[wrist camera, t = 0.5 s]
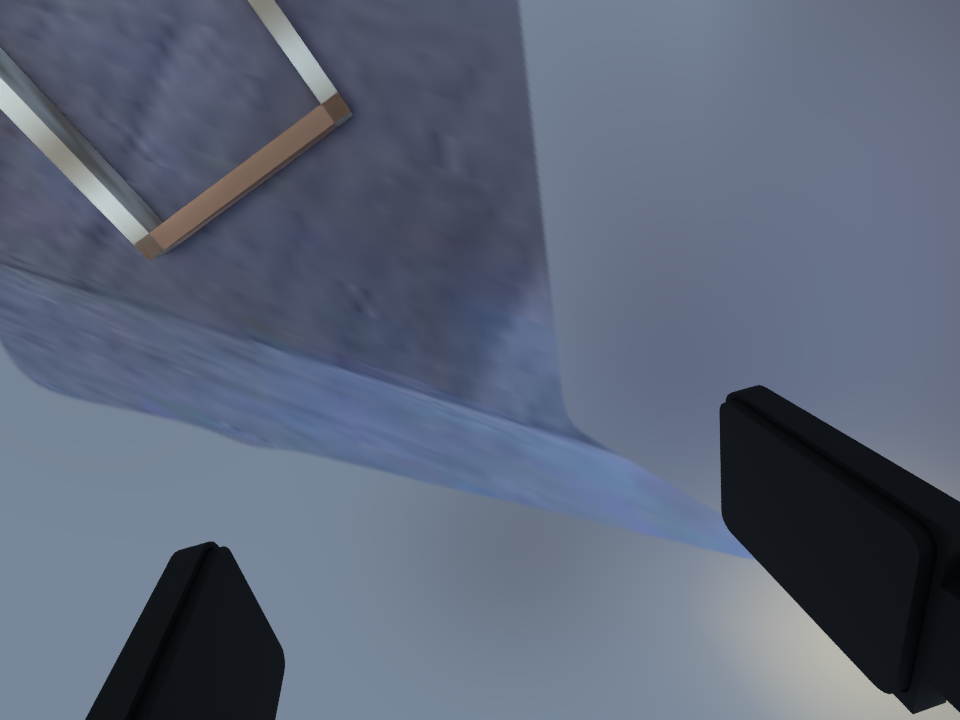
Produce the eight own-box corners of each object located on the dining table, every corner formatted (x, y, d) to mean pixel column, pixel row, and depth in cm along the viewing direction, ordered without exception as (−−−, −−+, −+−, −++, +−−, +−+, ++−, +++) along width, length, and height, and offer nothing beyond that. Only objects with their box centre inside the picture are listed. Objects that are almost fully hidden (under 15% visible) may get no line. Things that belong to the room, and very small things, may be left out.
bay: (-32, 43, 28) (-77, 30, 26) (184, -130, 27) (162, -163, 25) (168, 253, 34) (149, 260, 31) (353, 115, 33) (350, 110, 30)
